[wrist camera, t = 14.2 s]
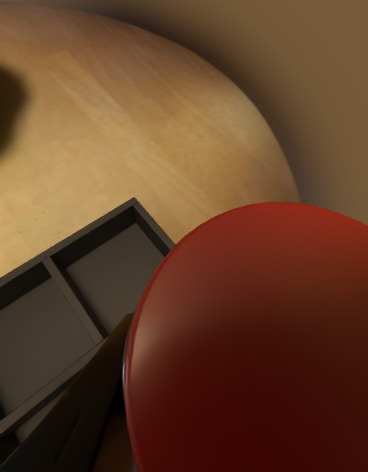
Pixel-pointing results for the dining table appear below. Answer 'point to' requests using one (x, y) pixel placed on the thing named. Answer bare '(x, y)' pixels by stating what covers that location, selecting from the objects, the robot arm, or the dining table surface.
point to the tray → (69, 311)
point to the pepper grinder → (253, 347)
